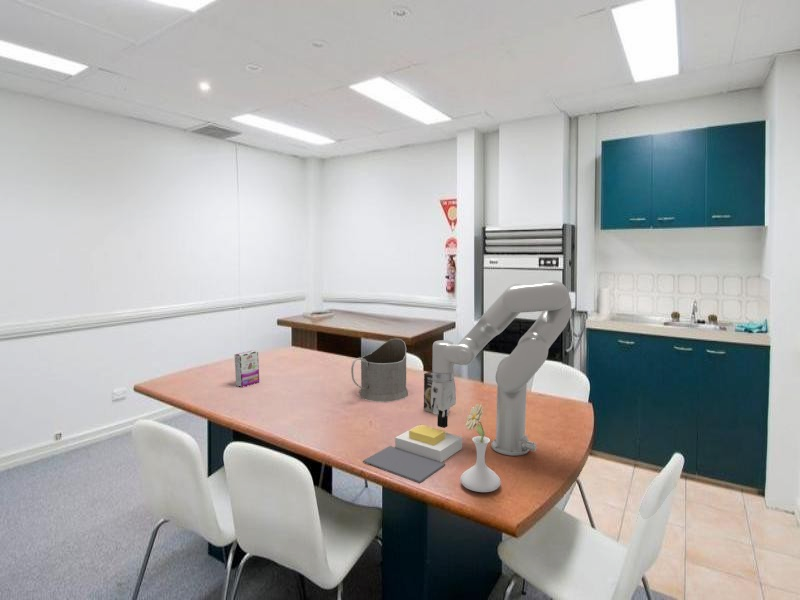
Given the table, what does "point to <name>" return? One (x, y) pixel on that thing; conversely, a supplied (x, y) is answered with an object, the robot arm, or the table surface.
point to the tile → (427, 434)
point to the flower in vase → (479, 458)
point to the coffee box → (427, 391)
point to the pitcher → (384, 373)
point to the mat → (405, 463)
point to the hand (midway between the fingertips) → (442, 426)
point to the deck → (430, 446)
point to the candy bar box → (246, 368)
